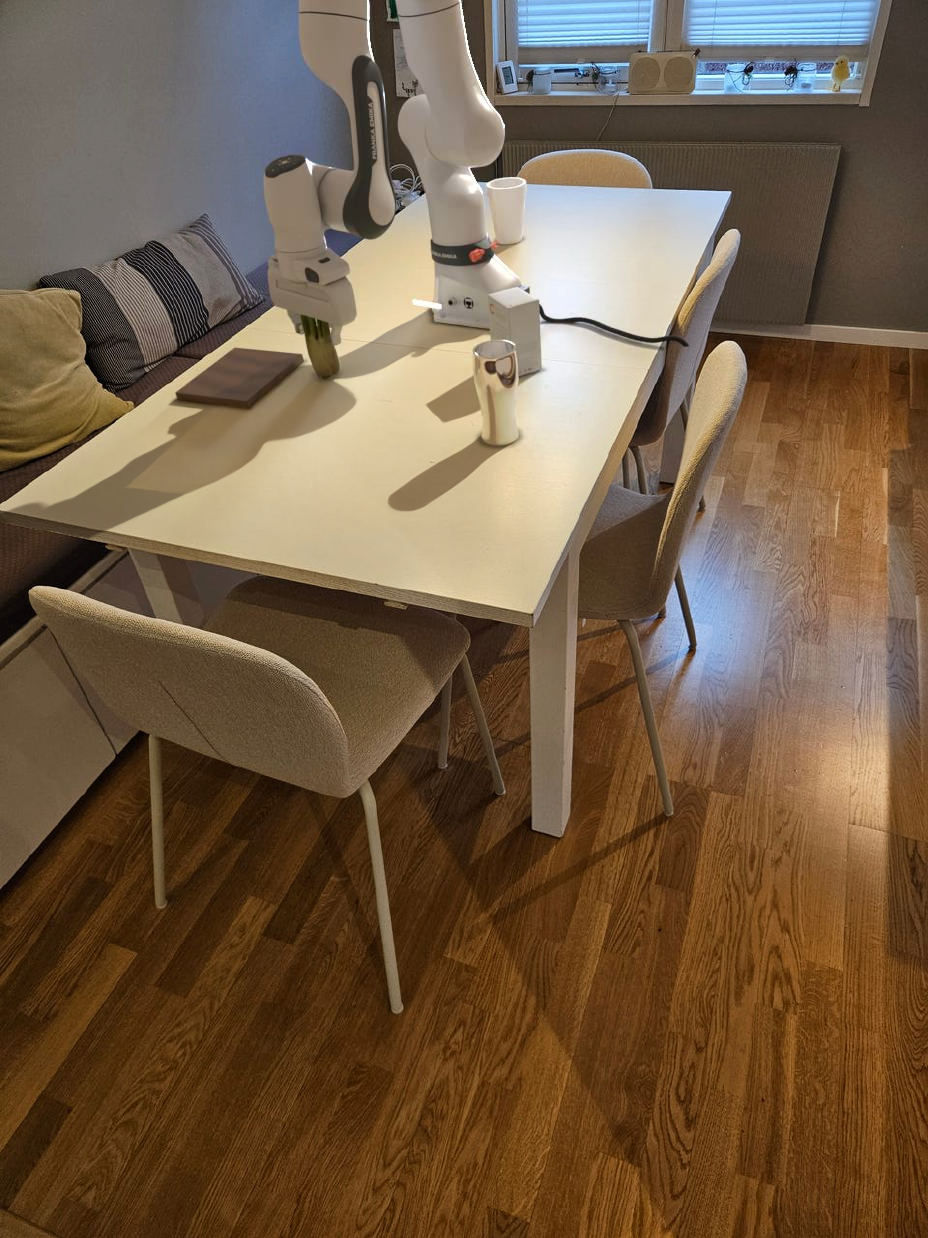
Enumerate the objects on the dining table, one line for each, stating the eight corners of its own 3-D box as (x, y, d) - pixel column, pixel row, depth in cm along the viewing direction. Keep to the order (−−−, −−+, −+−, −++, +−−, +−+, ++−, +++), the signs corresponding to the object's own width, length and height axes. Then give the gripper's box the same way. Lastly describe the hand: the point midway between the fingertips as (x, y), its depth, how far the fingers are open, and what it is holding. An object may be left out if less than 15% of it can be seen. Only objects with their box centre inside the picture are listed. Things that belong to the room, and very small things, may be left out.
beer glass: (476, 428, 144) (469, 342, 134) (518, 423, 144) (513, 336, 134) (481, 449, 139) (473, 361, 129) (524, 444, 139) (519, 355, 129)
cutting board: (236, 354, 176) (234, 347, 175) (304, 360, 171) (302, 353, 170) (177, 399, 162) (174, 392, 162) (248, 408, 157) (246, 401, 156)
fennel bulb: (309, 374, 166) (295, 312, 158) (331, 365, 168) (318, 304, 160) (324, 383, 162) (311, 320, 154) (346, 374, 164) (334, 312, 156)
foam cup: (535, 235, 214) (533, 178, 206) (516, 247, 209) (513, 189, 200) (502, 232, 219) (498, 176, 210) (483, 244, 213) (479, 187, 205)
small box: (542, 369, 158) (540, 299, 150) (512, 379, 156) (508, 308, 148) (521, 354, 164) (517, 285, 155) (491, 363, 162) (486, 294, 154)
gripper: (252, 257, 155) (270, 332, 164) (328, 277, 144) (342, 356, 153) (280, 246, 158) (295, 320, 167) (356, 265, 147) (368, 343, 156)
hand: (318, 338), depth 160 cm, fingers open, 8 cm apart
